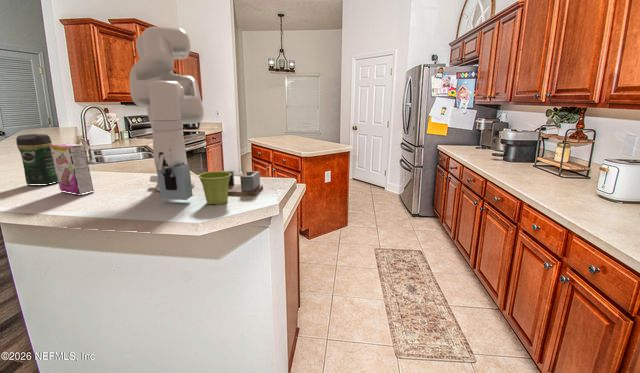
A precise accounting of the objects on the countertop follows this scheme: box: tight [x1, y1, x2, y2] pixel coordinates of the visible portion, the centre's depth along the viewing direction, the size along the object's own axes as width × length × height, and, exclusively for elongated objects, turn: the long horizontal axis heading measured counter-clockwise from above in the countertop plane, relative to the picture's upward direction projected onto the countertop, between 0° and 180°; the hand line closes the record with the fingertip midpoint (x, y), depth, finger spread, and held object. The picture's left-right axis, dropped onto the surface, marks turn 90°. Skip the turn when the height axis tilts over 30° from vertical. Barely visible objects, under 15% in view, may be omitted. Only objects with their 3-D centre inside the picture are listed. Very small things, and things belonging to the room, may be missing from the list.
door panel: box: [155, 163, 193, 201], centre depth 98 cm, size 8×4×10 cm, turn 85°
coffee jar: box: [15, 133, 58, 185], centre depth 119 cm, size 10×8×19 cm
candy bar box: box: [50, 142, 95, 194], centre depth 108 cm, size 11×5×16 cm, turn 65°
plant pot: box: [198, 170, 231, 206], centre depth 98 cm, size 9×9×9 cm
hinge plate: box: [228, 183, 264, 197], centre depth 111 cm, size 15×9×1 cm, turn 85°
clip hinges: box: [222, 170, 261, 191], centre depth 110 cm, size 13×8×5 cm, turn 85°
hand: (175, 186), depth 98 cm, fingers closed on door panel, 4 cm apart
